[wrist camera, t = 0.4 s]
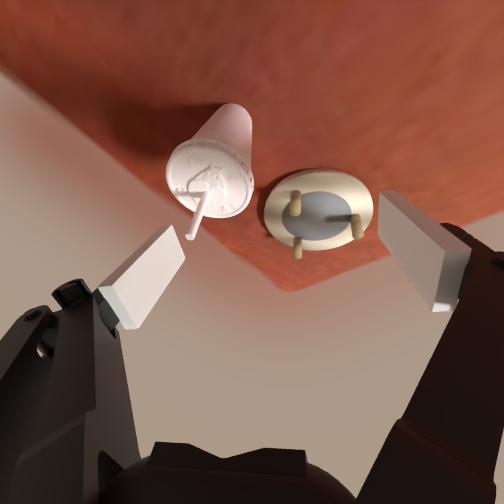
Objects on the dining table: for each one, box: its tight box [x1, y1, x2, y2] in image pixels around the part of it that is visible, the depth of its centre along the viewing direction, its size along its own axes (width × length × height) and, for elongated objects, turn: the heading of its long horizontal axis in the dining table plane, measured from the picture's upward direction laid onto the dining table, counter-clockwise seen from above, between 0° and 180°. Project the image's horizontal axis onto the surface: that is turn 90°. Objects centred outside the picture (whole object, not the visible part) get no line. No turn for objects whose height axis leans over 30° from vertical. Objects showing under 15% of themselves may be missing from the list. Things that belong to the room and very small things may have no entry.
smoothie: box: [166, 103, 254, 240], centre depth 19 cm, size 6×6×14 cm
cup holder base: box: [264, 168, 373, 259], centre depth 29 cm, size 13×13×4 cm
